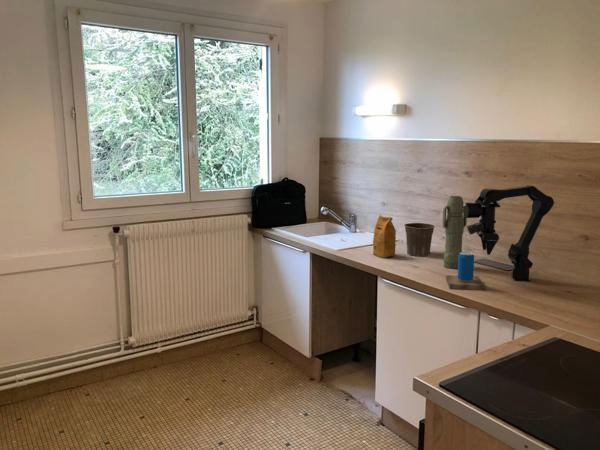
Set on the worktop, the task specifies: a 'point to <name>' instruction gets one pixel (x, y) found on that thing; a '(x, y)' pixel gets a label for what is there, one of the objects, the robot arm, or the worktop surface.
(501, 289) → the worktop surface
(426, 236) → the plant pot
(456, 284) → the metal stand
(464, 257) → the beverage can
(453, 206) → the thermos
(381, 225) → the coffee package
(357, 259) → the worktop surface
